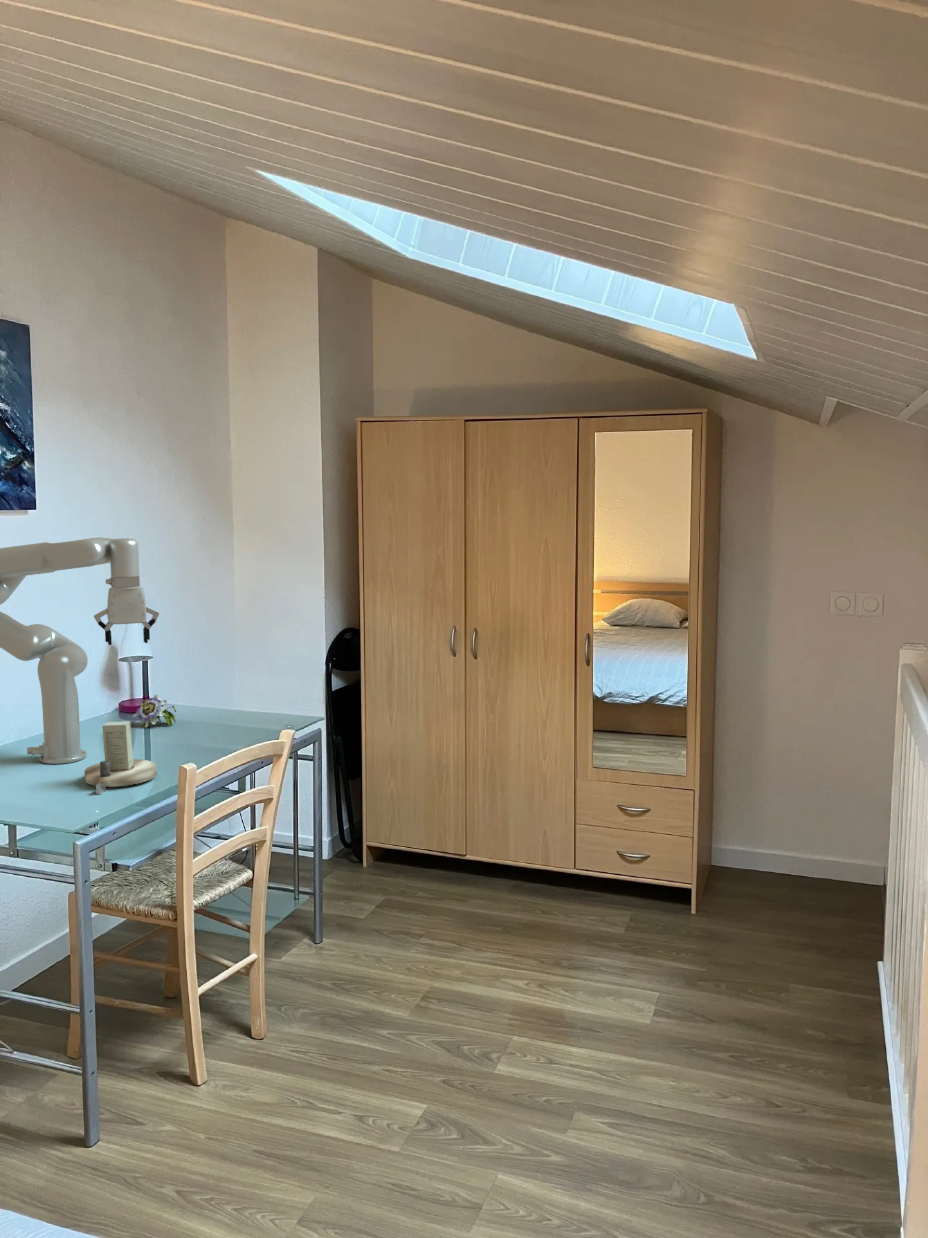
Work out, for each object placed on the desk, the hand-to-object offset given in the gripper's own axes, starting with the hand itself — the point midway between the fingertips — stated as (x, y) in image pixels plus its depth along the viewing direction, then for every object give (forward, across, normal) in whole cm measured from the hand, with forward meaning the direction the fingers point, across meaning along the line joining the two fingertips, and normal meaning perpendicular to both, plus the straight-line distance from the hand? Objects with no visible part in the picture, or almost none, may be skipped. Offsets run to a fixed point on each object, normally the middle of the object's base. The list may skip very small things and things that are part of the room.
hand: (127, 643), depth 276 cm
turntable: (+33, -5, -20) cm, 39 cm away
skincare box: (+30, -5, -20) cm, 37 cm away
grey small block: (+33, -11, -30) cm, 46 cm away
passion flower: (+34, +12, +40) cm, 53 cm away
